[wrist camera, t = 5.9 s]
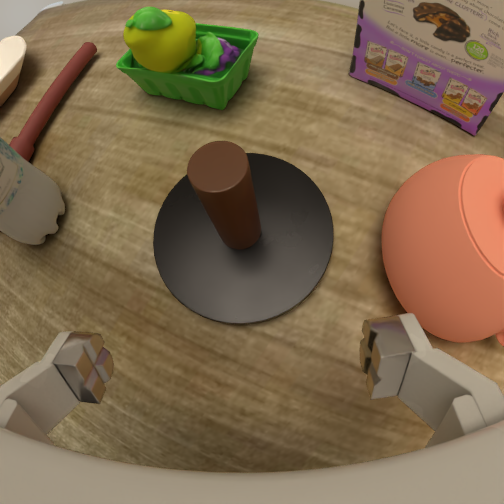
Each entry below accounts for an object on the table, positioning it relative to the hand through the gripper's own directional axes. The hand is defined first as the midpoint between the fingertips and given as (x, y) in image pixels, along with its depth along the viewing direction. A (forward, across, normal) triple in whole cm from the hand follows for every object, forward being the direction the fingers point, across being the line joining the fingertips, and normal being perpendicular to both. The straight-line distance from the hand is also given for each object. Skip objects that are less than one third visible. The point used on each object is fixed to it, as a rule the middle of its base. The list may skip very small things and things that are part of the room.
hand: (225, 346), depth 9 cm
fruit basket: (+25, +5, -8) cm, 27 cm away
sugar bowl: (+11, -15, +6) cm, 19 cm away
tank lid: (+13, +1, +2) cm, 14 cm away
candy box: (+24, -17, -7) cm, 31 cm away
